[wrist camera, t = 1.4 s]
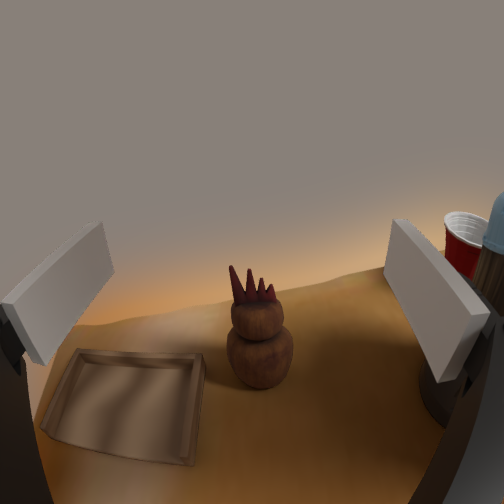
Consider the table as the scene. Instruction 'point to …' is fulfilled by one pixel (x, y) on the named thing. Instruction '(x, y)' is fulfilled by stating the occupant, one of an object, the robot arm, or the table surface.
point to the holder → (130, 405)
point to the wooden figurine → (258, 334)
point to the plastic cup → (464, 241)
